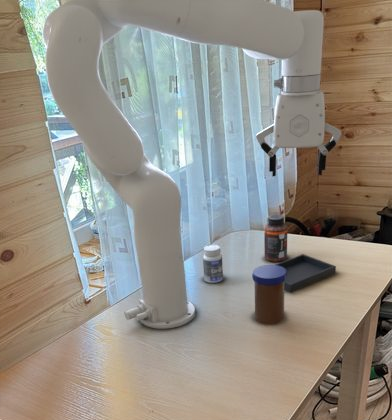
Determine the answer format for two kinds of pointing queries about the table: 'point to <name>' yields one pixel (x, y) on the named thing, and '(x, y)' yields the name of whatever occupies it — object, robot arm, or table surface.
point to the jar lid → (269, 274)
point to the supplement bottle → (275, 238)
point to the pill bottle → (212, 264)
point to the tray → (305, 271)
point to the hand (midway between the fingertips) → (296, 174)
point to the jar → (269, 303)
